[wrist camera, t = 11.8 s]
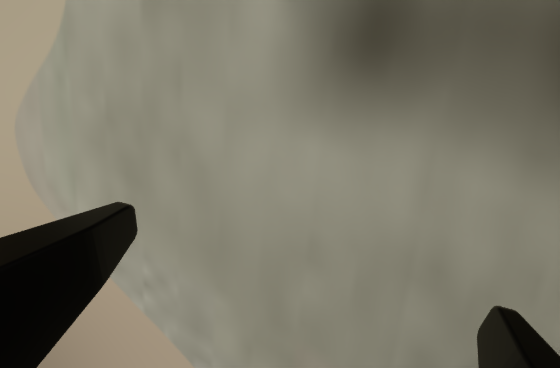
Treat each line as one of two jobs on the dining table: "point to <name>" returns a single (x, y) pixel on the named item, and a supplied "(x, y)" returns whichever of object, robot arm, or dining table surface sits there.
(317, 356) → the dining table surface
